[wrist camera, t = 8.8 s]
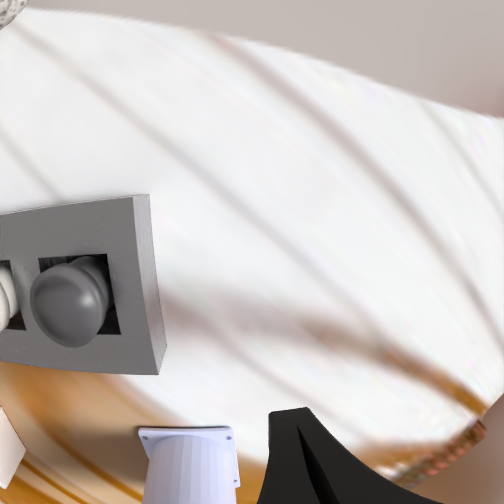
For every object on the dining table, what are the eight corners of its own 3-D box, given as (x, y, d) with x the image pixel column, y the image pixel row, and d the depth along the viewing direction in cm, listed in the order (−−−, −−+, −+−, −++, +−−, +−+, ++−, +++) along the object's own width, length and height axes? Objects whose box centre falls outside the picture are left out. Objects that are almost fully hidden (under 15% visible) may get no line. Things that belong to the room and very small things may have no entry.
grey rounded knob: (126, 317, 17) (106, 349, 13) (69, 316, 17) (41, 345, 13) (116, 249, 16) (89, 267, 12) (57, 253, 16) (22, 271, 12)
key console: (166, 345, 19) (158, 375, 16) (-39, 331, 17) (-59, 346, 14) (149, 194, 17) (133, 196, 14) (-62, 227, 15) (-86, 234, 12)
